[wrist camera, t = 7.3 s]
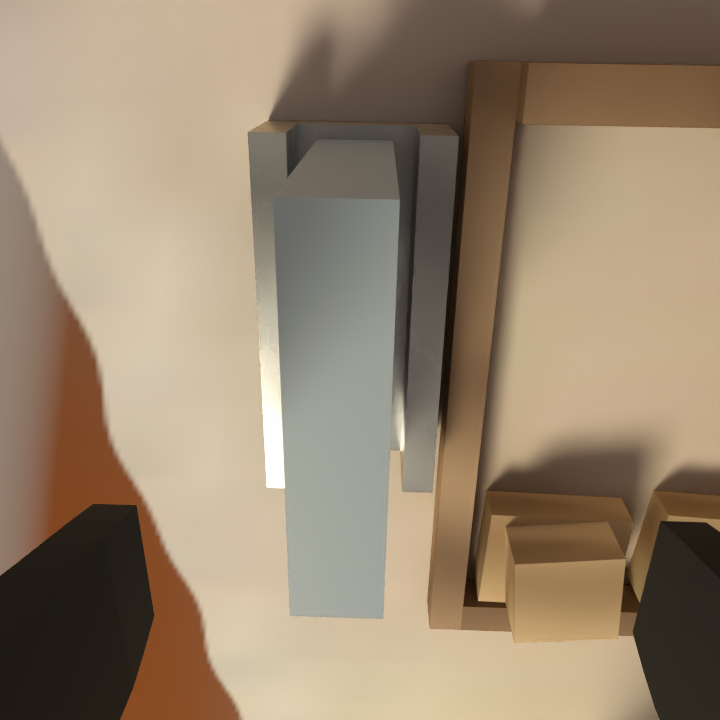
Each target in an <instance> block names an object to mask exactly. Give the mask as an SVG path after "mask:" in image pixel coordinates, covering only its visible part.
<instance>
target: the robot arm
mask: <svg viewBox="0 0 720 720" xmlns="http://www.w3.org/2000/svg"><path fill="white" fill-rule="evenodd" d="M153 618H154V612H153V605H152V599H151V593H150V587H149V581H148V574H147V568H146V562H145V556H144V549H143V543H142V538H141V531H140V525H139V518H138V513H137V506H136V505H106V504H93V505H92V506H90V507H89V508H87V509H86V510H84V511H83V512H82V513H81V514H79V515H78V516H76V517H75V518H74V519H72V520H71V521H70V522H69V523H67V524H66V525H65V526H64V527H62V528H61V529H60V530H58V531H57V532H56V533H54V534H53V535H52V536H51V537H49V538H48V539H47V540H46V541H44V542H43V543H42V544H40V545H39V546H38V547H37V548H36V549H34V550H33V551H32V552H30V553H29V554H28V555H27V556H25V557H24V558H23V559H21V561H19V562H18V563H16V564H15V565H14V566H12V567H11V568H10V569H9V570H7V571H6V572H5V573H3V574H2V575H1V576H0V720H120V718H121V716H122V714H123V711H124V709H125V706H126V704H127V701H128V699H129V697H130V694H131V692H132V689H133V686H134V683H135V680H136V677H137V673H138V670H139V666H140V664H141V660H142V657H143V654H144V650H145V647H146V643H147V639H148V636H149V632H150V629H151V625H152V622H153ZM633 635H634V639H635V642H636V646H637V649H638V653H639V657H640V660H641V664H642V667H643V671H644V674H645V677H646V681H647V684H648V687H649V690H650V693H651V697H652V700H653V703H654V706H655V709H656V711H657V714H658V716H659V718H660V720H720V532H719V531H718V530H717V529H715V528H714V527H712V526H711V525H709V524H708V523H706V522H682V521H660V525H659V529H658V533H657V537H656V541H655V545H654V549H653V553H652V557H651V561H650V565H649V569H648V573H647V576H646V580H645V584H644V588H643V592H642V596H641V600H640V604H639V608H638V612H637V616H636V620H635V624H634V628H633Z"/></svg>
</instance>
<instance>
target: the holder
mask: <svg viewBox="0 0 720 720" xmlns="http://www.w3.org/2000/svg"><path fill="white" fill-rule="evenodd" d="M317 139H338V140H390V141H393V144H394V153H395V162H396V170H397V179H398V188H399V196H400V209H399V234H398V259H397V284H396V309H395V334H394V360H393V385H392V410H391V435H390V450H400V454H401V477H402V492H429V493H432V491H433V477H434V464H435V450H436V437H437V424H438V410H439V397H440V384H441V370H442V357H443V343H444V330H445V317H446V303H447V290H448V276H449V263H450V250H451V236H452V223H453V210H454V196H455V183H456V169H457V156H458V143H459V136H458V135H457V133H456V132H455V131H454V130H453V129H452V128H451V127H450V126H449V125H448V124H419V123H366V122H313V121H266V122H264V123H263V124H261V125H259V126H257V127H256V128H254V129H252V130H251V131H249V132H248V145H249V163H250V182H251V200H252V219H253V237H254V256H255V274H256V293H257V312H258V330H259V349H260V367H261V386H262V404H263V423H264V441H265V460H266V478H267V487H270V488H285V482H284V458H283V433H282V409H281V384H280V359H279V335H278V310H277V286H276V261H275V237H274V212H273V196H274V195H275V194H276V192H277V191H278V190H279V188H280V187H281V186H282V184H283V183H284V182H285V181H286V179H287V178H288V177H289V175H290V174H291V173H292V172H293V170H294V169H295V168H296V166H297V165H298V164H299V162H300V161H301V160H302V159H303V157H304V156H305V155H306V153H307V152H308V151H309V149H310V148H311V147H312V146H313V144H314V143H315V142H316V140H317Z"/></svg>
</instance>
